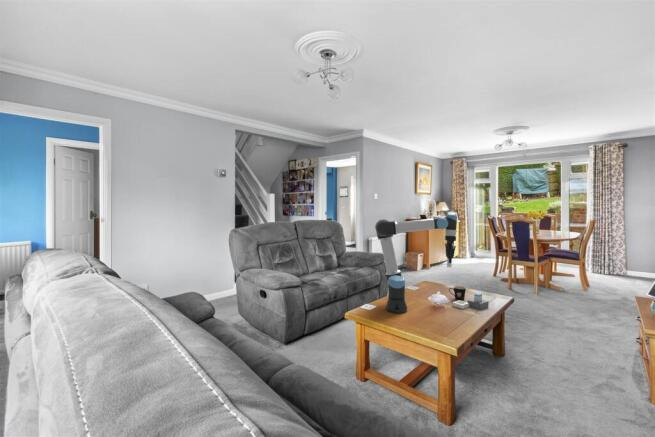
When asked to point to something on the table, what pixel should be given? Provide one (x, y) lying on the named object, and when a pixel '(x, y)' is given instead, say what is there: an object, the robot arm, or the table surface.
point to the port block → (478, 304)
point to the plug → (477, 297)
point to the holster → (460, 304)
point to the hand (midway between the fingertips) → (449, 267)
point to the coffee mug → (459, 292)
